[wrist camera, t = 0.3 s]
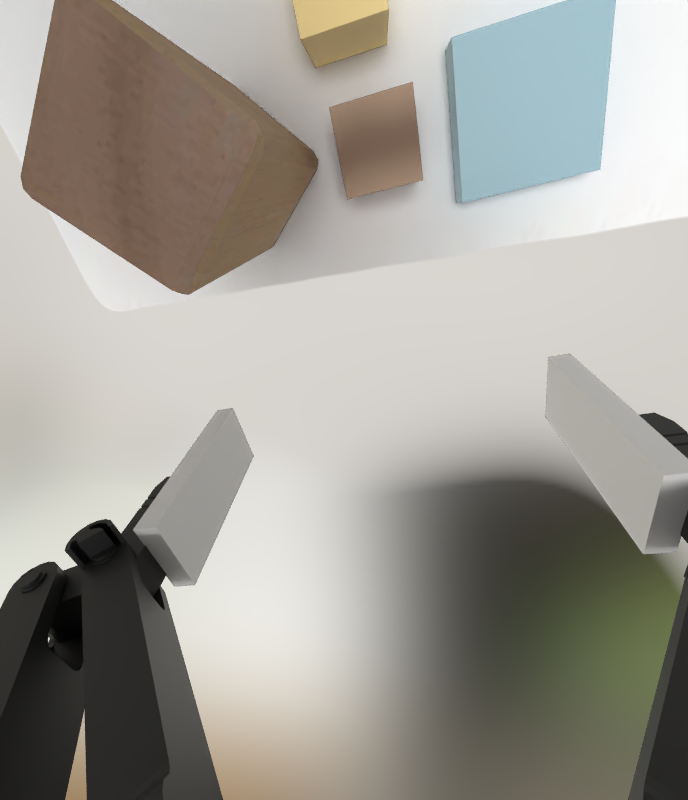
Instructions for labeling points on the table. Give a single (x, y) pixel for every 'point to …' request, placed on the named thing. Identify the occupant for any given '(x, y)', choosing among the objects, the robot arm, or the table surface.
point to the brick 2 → (378, 141)
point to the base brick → (529, 97)
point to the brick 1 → (341, 27)
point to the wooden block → (156, 150)
